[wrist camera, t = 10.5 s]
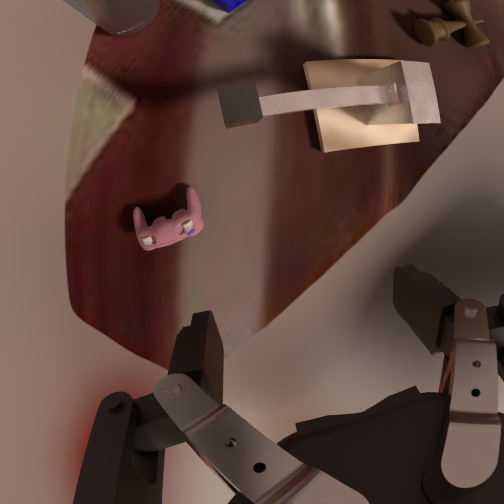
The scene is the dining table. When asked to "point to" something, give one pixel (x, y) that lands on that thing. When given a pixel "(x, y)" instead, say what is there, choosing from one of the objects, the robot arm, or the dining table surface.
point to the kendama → (451, 26)
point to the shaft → (291, 101)
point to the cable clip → (229, 4)
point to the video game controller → (170, 224)
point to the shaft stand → (377, 115)
